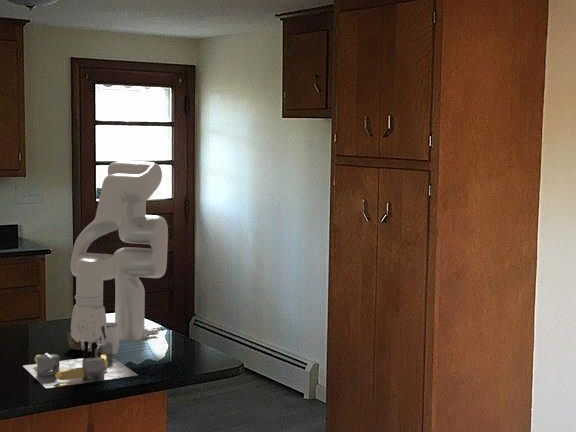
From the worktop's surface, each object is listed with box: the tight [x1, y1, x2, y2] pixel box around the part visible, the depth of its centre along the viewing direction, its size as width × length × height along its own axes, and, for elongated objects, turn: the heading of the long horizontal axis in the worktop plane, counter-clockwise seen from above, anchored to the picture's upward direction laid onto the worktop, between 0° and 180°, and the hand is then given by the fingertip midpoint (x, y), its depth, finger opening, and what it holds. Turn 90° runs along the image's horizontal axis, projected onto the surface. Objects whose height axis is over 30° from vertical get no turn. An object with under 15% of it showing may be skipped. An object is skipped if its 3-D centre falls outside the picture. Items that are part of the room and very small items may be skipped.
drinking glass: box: [105, 322, 120, 355], centre depth 253 cm, size 7×7×10 cm
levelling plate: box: [22, 357, 138, 389], centre depth 234 cm, size 26×23×2 cm
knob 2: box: [95, 342, 114, 367], centre depth 240 cm, size 14×6×6 cm, turn 16°
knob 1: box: [34, 352, 60, 378], centre depth 232 cm, size 14×6×6 cm, turn 33°
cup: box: [66, 327, 83, 352], centre depth 255 cm, size 8×7×8 cm
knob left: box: [55, 357, 105, 382], centre depth 225 cm, size 14×6×6 cm, turn 123°
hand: (89, 363), depth 237 cm, fingers closed
